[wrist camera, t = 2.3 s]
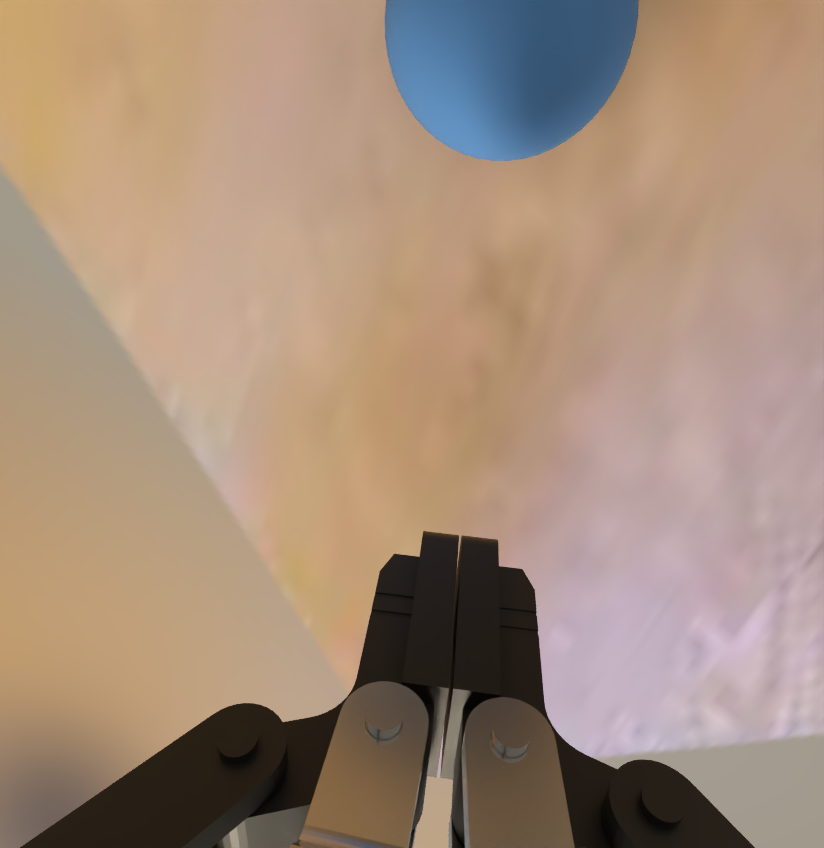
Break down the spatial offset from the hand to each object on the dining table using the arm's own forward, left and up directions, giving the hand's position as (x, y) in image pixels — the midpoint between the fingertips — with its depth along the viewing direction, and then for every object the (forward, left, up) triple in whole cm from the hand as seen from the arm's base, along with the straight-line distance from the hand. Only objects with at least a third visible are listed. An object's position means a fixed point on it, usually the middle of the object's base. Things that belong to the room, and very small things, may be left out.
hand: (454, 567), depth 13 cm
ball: (-10, 0, -9) cm, 13 cm away
